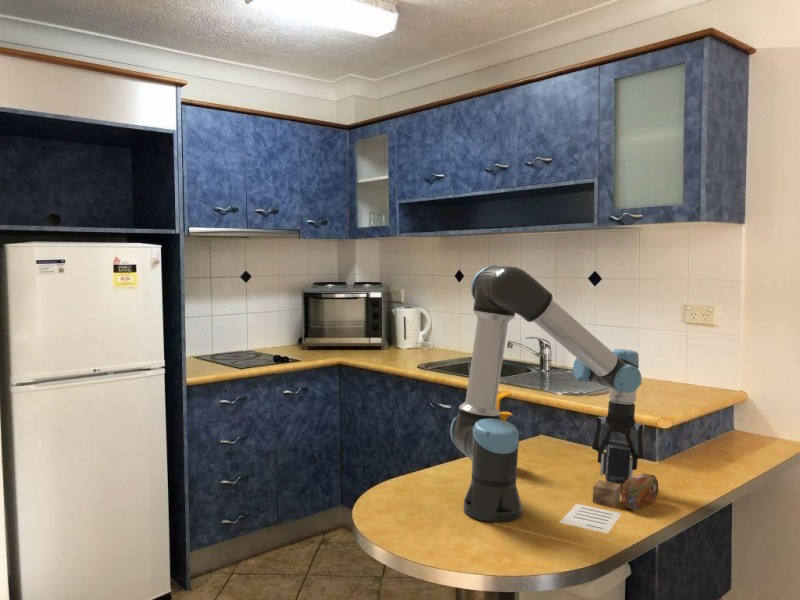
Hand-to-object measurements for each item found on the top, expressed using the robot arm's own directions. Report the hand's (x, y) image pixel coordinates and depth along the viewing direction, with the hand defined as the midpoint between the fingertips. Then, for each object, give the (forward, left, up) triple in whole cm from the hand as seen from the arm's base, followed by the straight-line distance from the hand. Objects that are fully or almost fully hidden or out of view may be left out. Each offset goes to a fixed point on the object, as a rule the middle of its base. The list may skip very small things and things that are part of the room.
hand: (616, 476), depth 198 cm
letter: (0, -31, -3) cm, 31 cm away
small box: (0, 0, -1) cm, 1 cm away
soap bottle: (-35, -5, -3) cm, 35 cm away
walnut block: (+1, -16, -3) cm, 16 cm away
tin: (+9, -13, -3) cm, 16 cm away
